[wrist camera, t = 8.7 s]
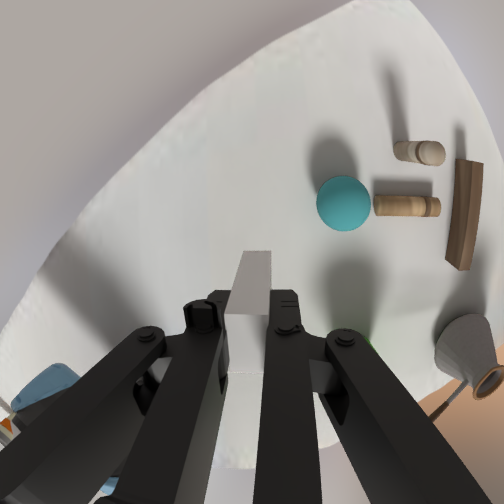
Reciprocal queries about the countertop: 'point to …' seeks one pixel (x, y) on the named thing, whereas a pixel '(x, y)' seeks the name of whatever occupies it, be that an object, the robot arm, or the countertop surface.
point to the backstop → (465, 213)
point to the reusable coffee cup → (6, 430)
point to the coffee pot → (468, 358)
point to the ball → (343, 203)
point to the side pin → (420, 152)
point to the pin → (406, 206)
